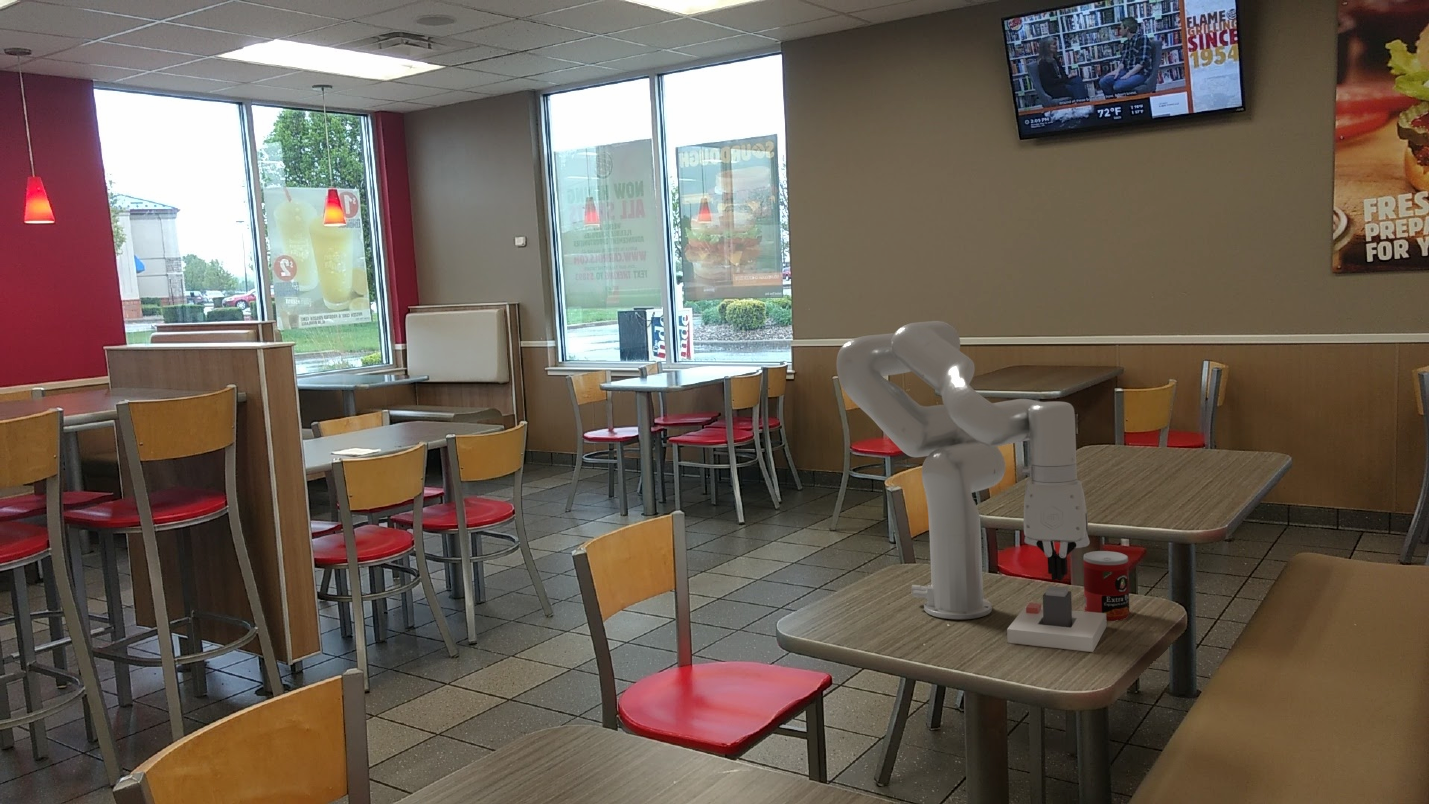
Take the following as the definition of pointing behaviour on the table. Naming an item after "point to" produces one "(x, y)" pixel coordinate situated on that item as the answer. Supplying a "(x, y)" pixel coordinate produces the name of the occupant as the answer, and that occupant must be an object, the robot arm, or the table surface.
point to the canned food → (1106, 584)
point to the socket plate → (1057, 630)
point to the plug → (1057, 607)
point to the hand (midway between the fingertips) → (1058, 578)
